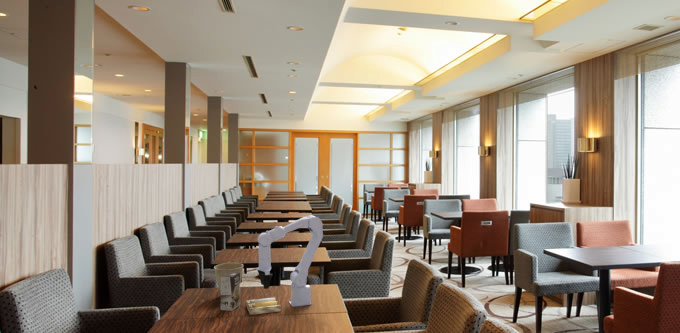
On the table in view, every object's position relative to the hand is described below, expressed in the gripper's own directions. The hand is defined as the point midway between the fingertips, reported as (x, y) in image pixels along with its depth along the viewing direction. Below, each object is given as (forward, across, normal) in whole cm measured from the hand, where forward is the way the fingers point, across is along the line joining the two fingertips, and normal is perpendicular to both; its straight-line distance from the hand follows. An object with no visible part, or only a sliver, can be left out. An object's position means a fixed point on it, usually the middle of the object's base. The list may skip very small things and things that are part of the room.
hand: (264, 286), depth 217 cm
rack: (+10, +1, 0) cm, 10 cm away
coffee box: (+10, -6, -16) cm, 20 cm away
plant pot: (+10, -25, -14) cm, 31 cm away
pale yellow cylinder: (+8, +4, 0) cm, 9 cm away
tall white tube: (+8, -2, 0) cm, 9 cm away
